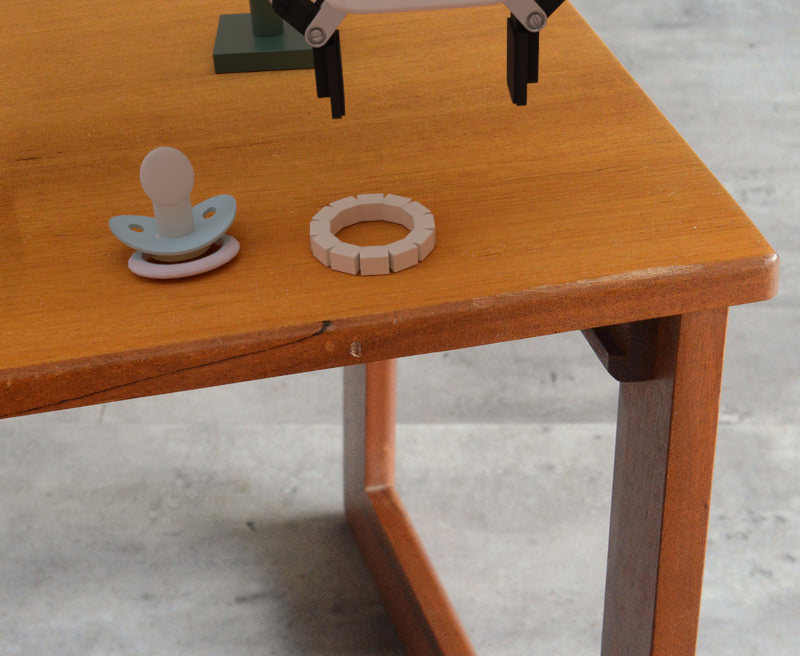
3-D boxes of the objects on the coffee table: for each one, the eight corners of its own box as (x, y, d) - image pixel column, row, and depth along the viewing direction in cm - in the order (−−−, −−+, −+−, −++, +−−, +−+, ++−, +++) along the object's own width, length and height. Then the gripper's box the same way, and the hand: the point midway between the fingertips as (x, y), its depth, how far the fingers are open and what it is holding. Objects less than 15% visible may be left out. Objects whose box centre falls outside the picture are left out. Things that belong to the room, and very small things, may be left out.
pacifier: (256, 270, 68) (232, 217, 72) (243, 172, 64) (219, 123, 68) (128, 297, 66) (111, 242, 70) (106, 199, 62) (90, 147, 66)
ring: (310, 278, 66) (309, 260, 66) (311, 214, 72) (310, 196, 71) (439, 271, 67) (438, 253, 66) (430, 207, 72) (429, 190, 71)
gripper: (215, -225, 50) (264, 145, 61) (621, -253, 50) (600, 121, 61) (226, -258, 56) (269, 84, 67) (590, -283, 56) (575, 63, 67)
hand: (427, 101), depth 64 cm, fingers open, 9 cm apart
